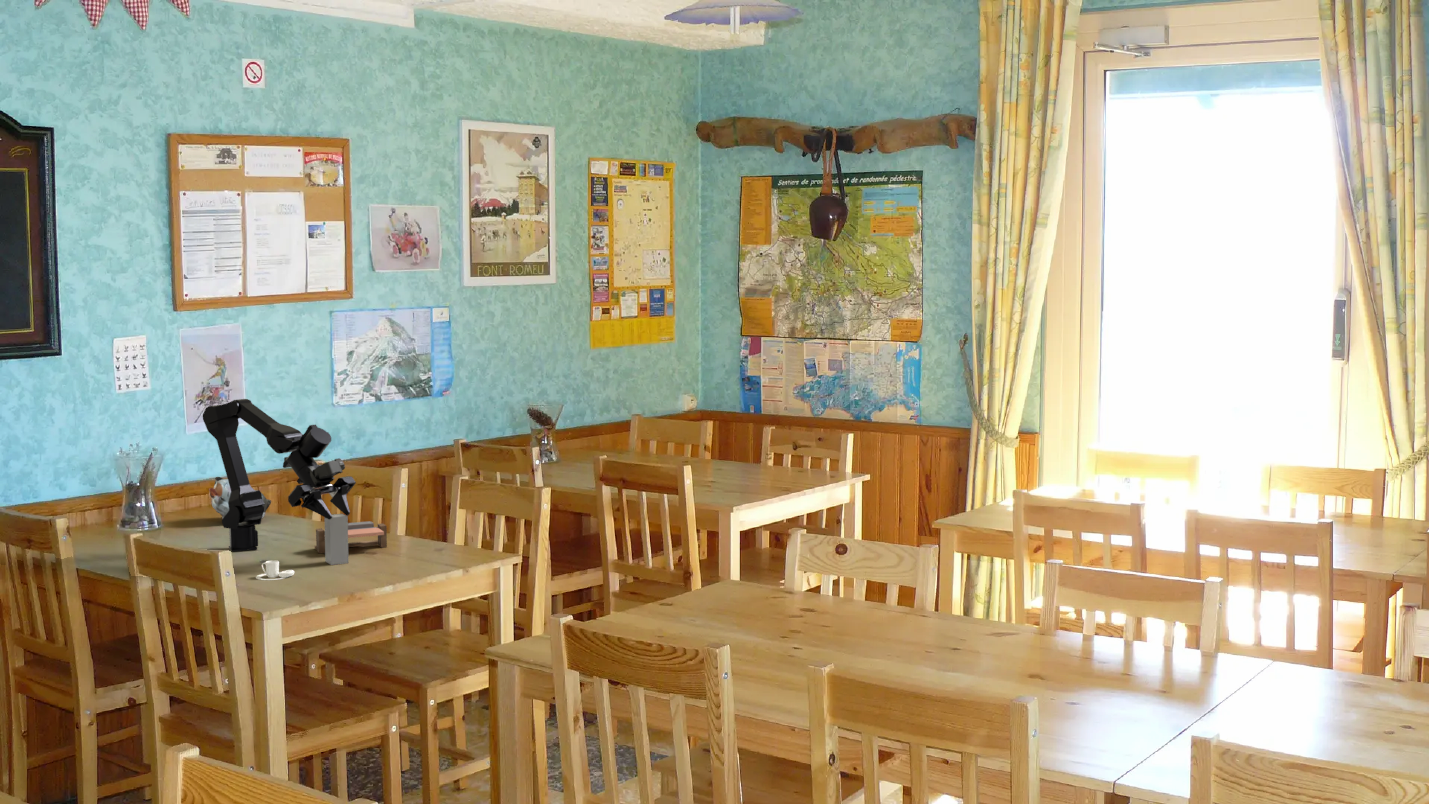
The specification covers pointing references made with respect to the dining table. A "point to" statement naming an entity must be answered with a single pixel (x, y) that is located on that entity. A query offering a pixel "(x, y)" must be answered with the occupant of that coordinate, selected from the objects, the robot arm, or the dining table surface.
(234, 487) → the robot arm
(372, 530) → the pink flat slab
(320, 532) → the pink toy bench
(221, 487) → the lucky cat figurine
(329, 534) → the stone block
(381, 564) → the dining table surface
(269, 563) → the teacup and saucer
